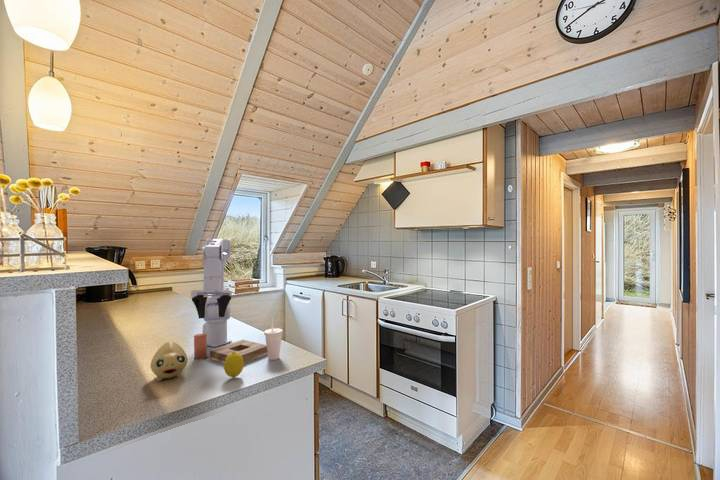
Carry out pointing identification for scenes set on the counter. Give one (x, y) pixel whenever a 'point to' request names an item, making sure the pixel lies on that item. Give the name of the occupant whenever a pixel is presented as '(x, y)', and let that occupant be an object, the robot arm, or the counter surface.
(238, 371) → the lemon
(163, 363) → the cream rounded figure
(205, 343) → the reddish brown tall block
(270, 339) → the smoothie
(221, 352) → the socket block
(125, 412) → the counter surface
